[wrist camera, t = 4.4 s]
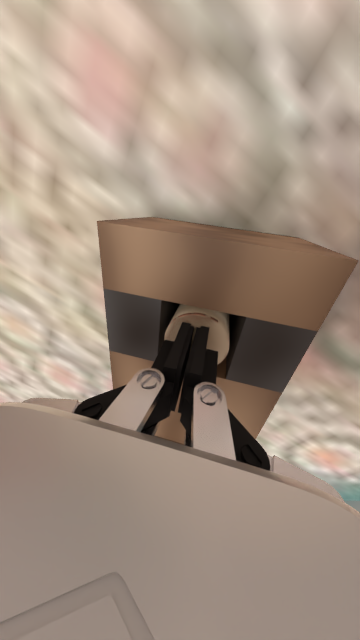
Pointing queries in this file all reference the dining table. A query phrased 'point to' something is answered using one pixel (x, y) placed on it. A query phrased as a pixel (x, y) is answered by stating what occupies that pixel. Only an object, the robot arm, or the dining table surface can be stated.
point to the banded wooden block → (217, 303)
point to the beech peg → (203, 317)
